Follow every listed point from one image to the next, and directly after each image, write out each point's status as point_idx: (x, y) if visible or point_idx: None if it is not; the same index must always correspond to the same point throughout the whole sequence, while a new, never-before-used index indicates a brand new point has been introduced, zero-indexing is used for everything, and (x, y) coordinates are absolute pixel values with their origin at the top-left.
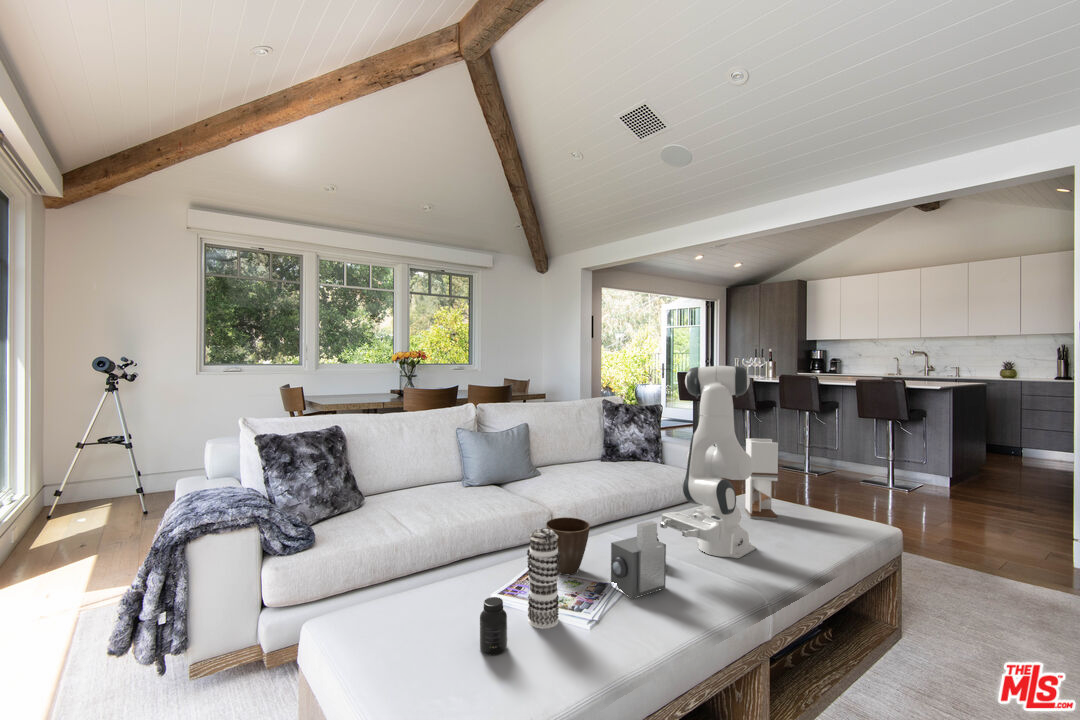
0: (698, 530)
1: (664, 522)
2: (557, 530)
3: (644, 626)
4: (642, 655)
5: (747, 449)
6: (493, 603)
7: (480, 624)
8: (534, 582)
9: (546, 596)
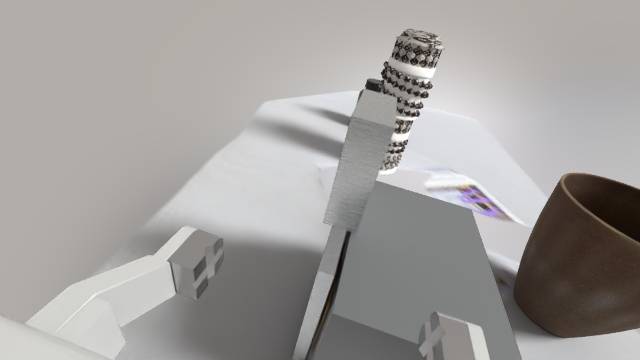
0: (32, 323)
1: (454, 337)
2: (579, 173)
3: (257, 199)
4: (231, 152)
5: None
6: (373, 80)
7: None
8: None
9: None
